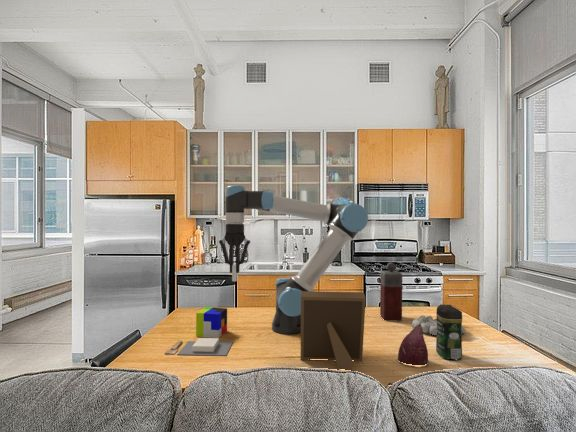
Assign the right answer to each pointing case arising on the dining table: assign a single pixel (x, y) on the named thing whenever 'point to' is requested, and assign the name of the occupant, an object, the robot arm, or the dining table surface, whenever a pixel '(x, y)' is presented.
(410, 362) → the vegetable
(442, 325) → the coffee jar
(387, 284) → the dark red tall bottle
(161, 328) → the dining table surface
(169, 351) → the wooden turner
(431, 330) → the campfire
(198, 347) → the tile
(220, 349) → the mat
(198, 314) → the puzzle toy
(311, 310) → the photo frame
